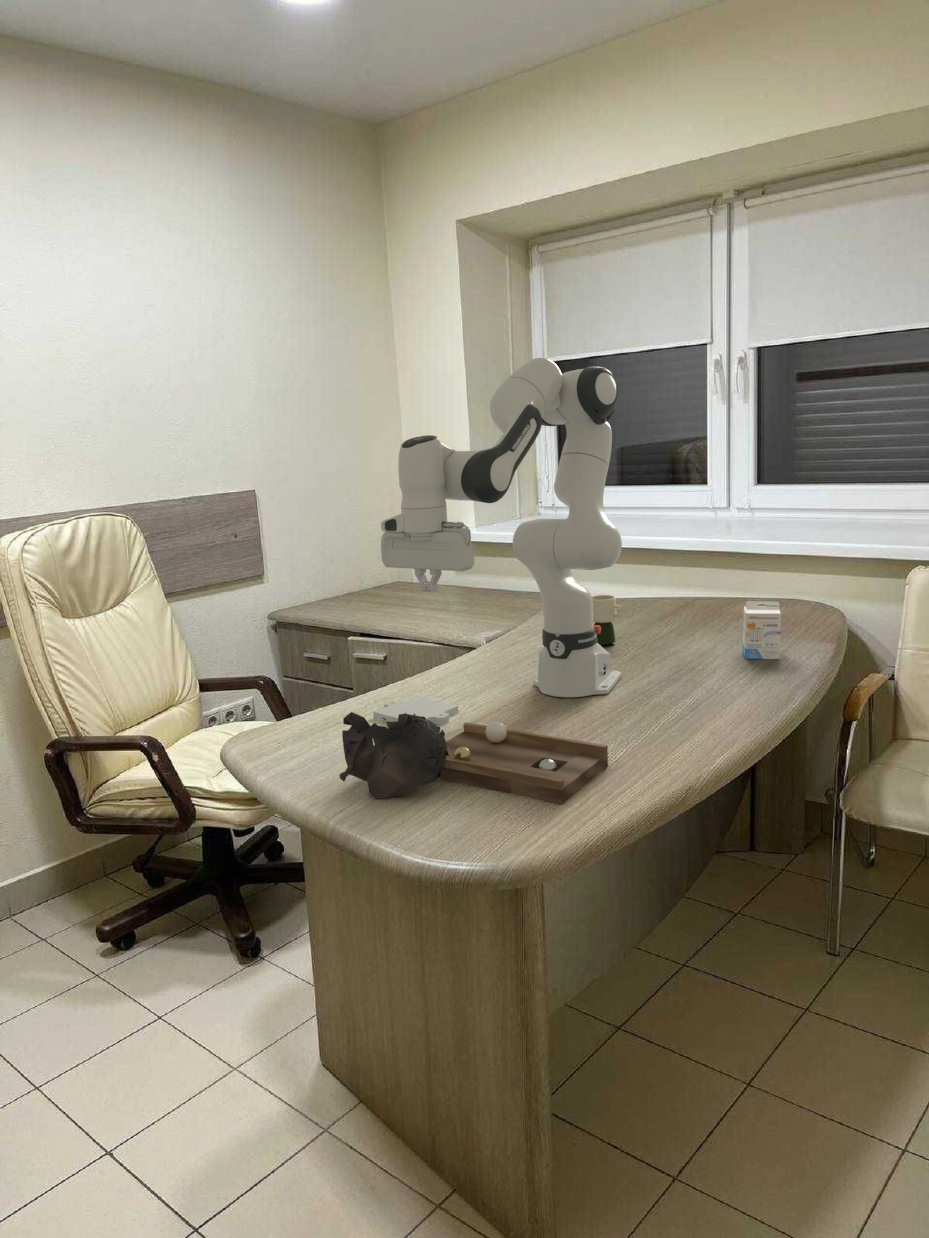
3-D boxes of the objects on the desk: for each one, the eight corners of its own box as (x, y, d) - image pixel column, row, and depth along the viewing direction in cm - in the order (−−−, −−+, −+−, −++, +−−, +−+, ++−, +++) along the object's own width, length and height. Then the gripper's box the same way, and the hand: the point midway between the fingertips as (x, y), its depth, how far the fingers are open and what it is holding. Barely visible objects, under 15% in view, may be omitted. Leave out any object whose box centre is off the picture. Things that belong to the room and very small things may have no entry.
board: (467, 741, 179) (466, 722, 178) (608, 766, 162) (607, 745, 162) (413, 773, 164) (411, 752, 163) (561, 804, 148) (560, 781, 147)
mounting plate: (366, 718, 198) (365, 709, 197) (408, 702, 207) (408, 694, 207) (424, 733, 186) (424, 725, 185) (467, 716, 195) (466, 708, 195)
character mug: (628, 643, 246) (627, 596, 243) (615, 649, 241) (614, 601, 238) (592, 639, 253) (591, 593, 250) (579, 645, 247) (578, 598, 244)
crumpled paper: (327, 802, 152) (442, 815, 147) (327, 717, 150) (443, 727, 145) (359, 777, 166) (465, 788, 160) (359, 698, 164) (466, 707, 158)
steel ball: (551, 752, 159) (564, 767, 159) (540, 763, 161) (553, 778, 160) (542, 758, 157) (555, 774, 156) (530, 769, 159) (543, 785, 158)
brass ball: (460, 758, 163) (459, 743, 163) (474, 761, 162) (473, 745, 161) (451, 764, 161) (450, 748, 160) (465, 767, 159) (464, 751, 158)
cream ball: (493, 737, 173) (492, 717, 172) (511, 740, 171) (510, 720, 170) (481, 744, 170) (480, 723, 169) (500, 747, 168) (499, 726, 167)
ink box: (744, 659, 225) (744, 606, 222) (742, 650, 233) (742, 599, 230) (780, 659, 223) (782, 606, 220) (777, 650, 231) (778, 599, 228)
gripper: (478, 520, 174) (482, 591, 177) (393, 518, 185) (398, 585, 188) (460, 524, 168) (464, 597, 171) (374, 522, 180) (379, 591, 183)
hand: (429, 591), depth 180 cm, fingers closed
